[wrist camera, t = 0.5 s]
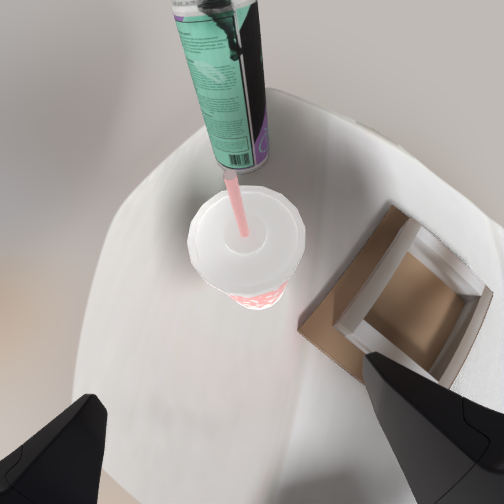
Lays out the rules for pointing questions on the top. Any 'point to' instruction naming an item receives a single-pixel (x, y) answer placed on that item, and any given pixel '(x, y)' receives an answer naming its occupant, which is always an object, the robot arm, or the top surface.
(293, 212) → the beverage cup
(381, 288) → the cup holder board
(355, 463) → the top surface
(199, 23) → the spray can
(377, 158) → the top surface
